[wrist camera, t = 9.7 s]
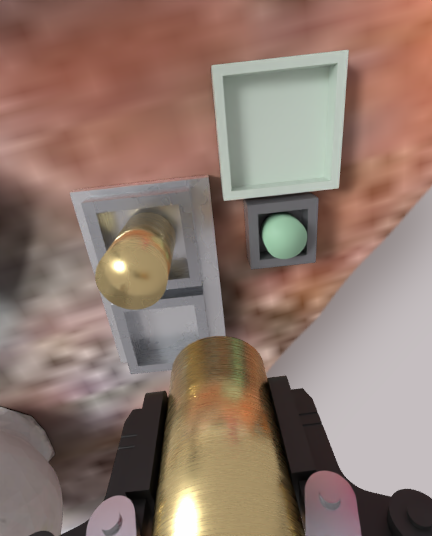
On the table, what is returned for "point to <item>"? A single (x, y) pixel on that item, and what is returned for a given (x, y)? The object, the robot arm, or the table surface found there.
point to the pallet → (181, 271)
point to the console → (262, 207)
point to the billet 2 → (223, 448)
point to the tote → (280, 124)
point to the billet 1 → (137, 262)
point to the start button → (283, 235)
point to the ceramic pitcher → (27, 478)
